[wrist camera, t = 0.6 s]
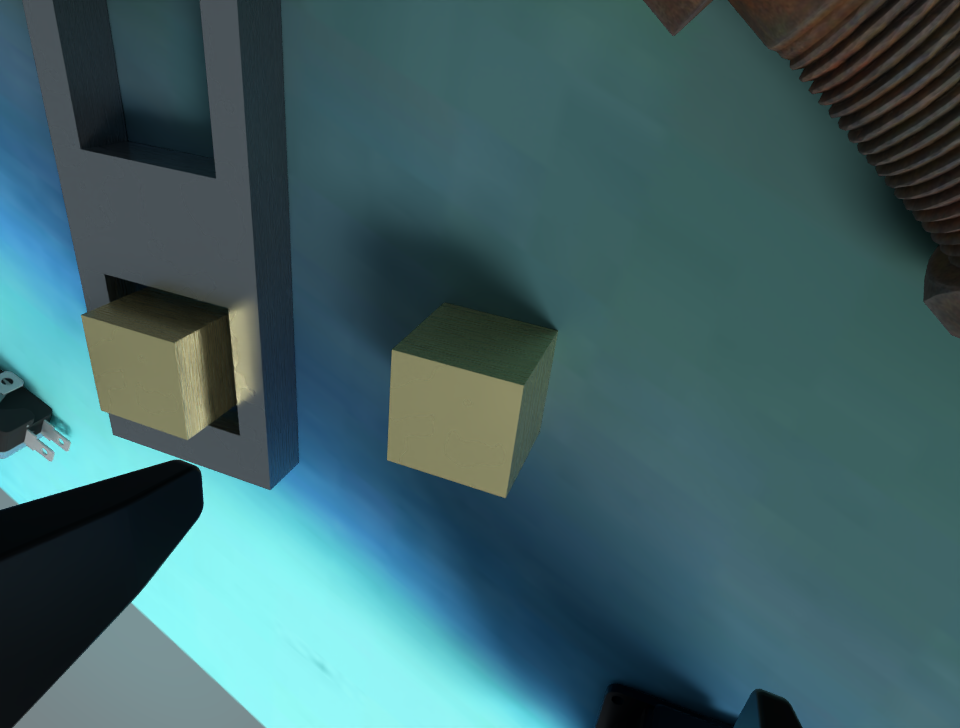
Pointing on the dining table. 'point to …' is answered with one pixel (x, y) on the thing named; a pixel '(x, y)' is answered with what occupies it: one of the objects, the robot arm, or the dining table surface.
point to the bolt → (880, 100)
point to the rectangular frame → (186, 211)
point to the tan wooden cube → (162, 360)
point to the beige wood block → (469, 396)
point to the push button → (24, 419)
